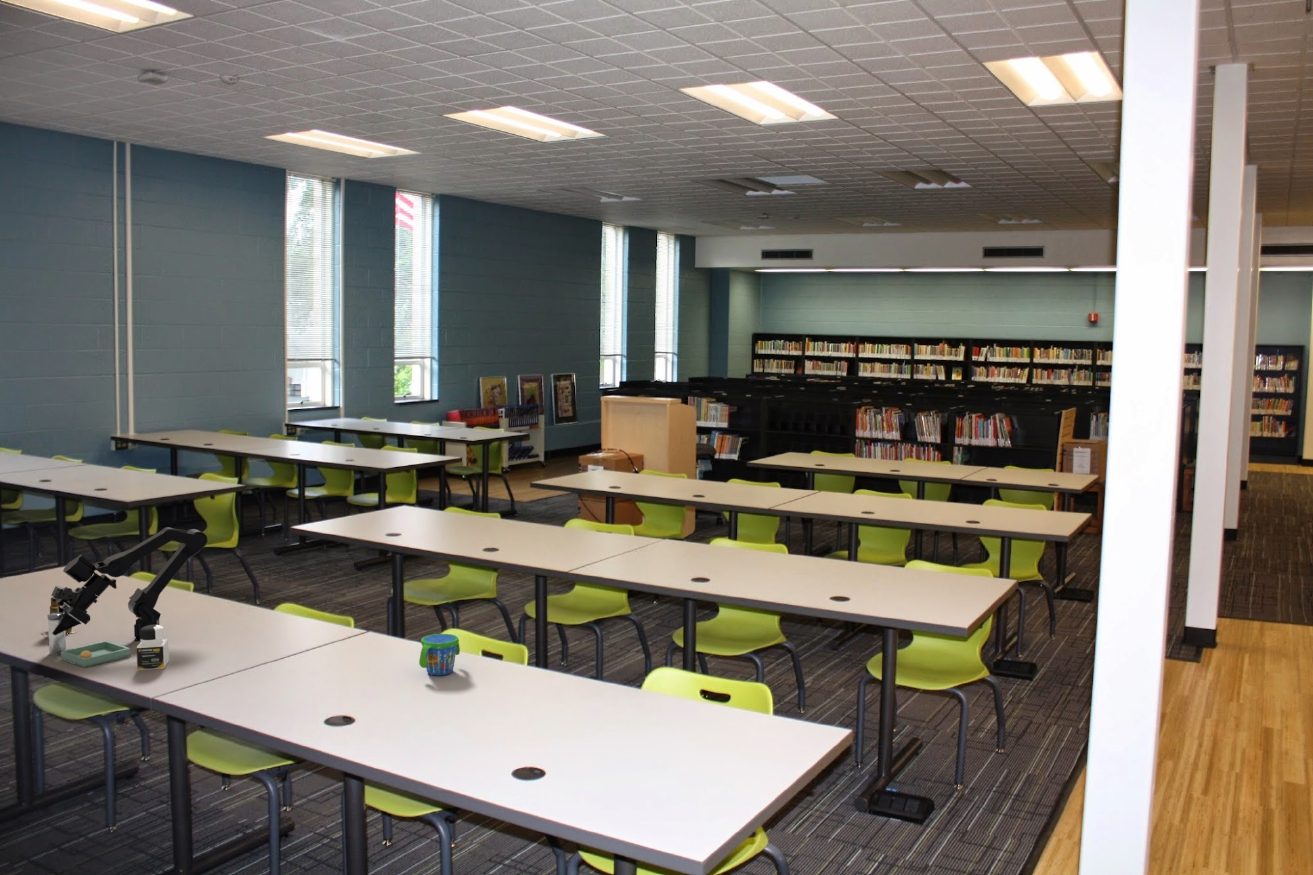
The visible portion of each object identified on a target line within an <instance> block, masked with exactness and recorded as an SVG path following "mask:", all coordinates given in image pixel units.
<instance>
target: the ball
mask: <svg viewBox="0 0 1313 875" xmlns="http://www.w3.org/2000/svg"><path fill="white" fill-rule="evenodd" d="M91 656H92V654H91V652H90V651H88V650H85V651H83V652H82V653H81V654H80V657H83V658H89V657H91Z"/></svg>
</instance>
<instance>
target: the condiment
mask: <svg viewBox="0 0 1313 875" xmlns="http://www.w3.org/2000/svg"><path fill="white" fill-rule="evenodd" d="M56 600H57V599H56V598H54V597H53V596H51V597H50V606H49V614H52V613H58V610H57V605H58V606H59V607H60V605H59V604H58V603H56V602H55V601H56ZM72 630H73V627H72V628H70V629H67V630H65V635H66V636H67V635H68V634H67V633H71V632H72ZM40 633H41V635H43V637H45V638H49V630H48V631H41V632H40ZM72 633H73V632H72ZM73 634H76V631H74V633H73Z"/></svg>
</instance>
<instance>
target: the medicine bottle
mask: <svg viewBox="0 0 1313 875" xmlns="http://www.w3.org/2000/svg"><path fill="white" fill-rule="evenodd" d="M140 634H141V640H140V642H139V644H138V645H137V647H136V664H137V667H136V669H137V671H149V670H150V671H151V670H164V668H166V667H167V664H168V662H169V640H168V638H164V627H163V626H162V625H160V624H159V625H148V626H145V627H143V628H141V630H140Z"/></svg>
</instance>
